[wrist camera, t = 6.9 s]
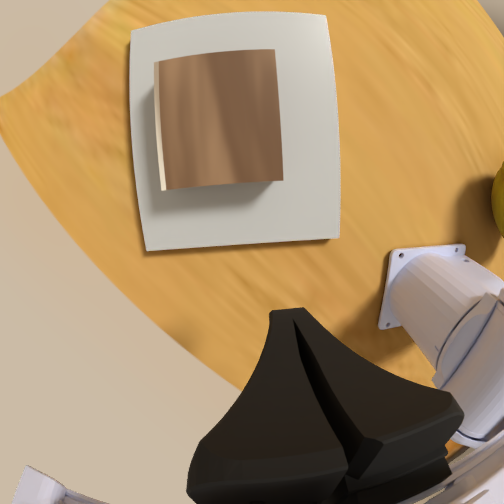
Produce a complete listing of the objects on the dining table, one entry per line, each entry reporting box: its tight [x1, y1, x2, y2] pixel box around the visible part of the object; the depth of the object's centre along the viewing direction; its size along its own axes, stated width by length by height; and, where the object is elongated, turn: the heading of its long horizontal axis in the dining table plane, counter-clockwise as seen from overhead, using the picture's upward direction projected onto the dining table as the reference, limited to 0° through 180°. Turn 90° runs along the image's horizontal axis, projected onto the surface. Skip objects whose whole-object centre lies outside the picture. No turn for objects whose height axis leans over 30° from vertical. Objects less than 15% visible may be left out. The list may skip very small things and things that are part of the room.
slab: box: [154, 49, 284, 191], centre depth 15 cm, size 3×8×7 cm
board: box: [130, 12, 340, 251], centre depth 16 cm, size 14×17×1 cm
